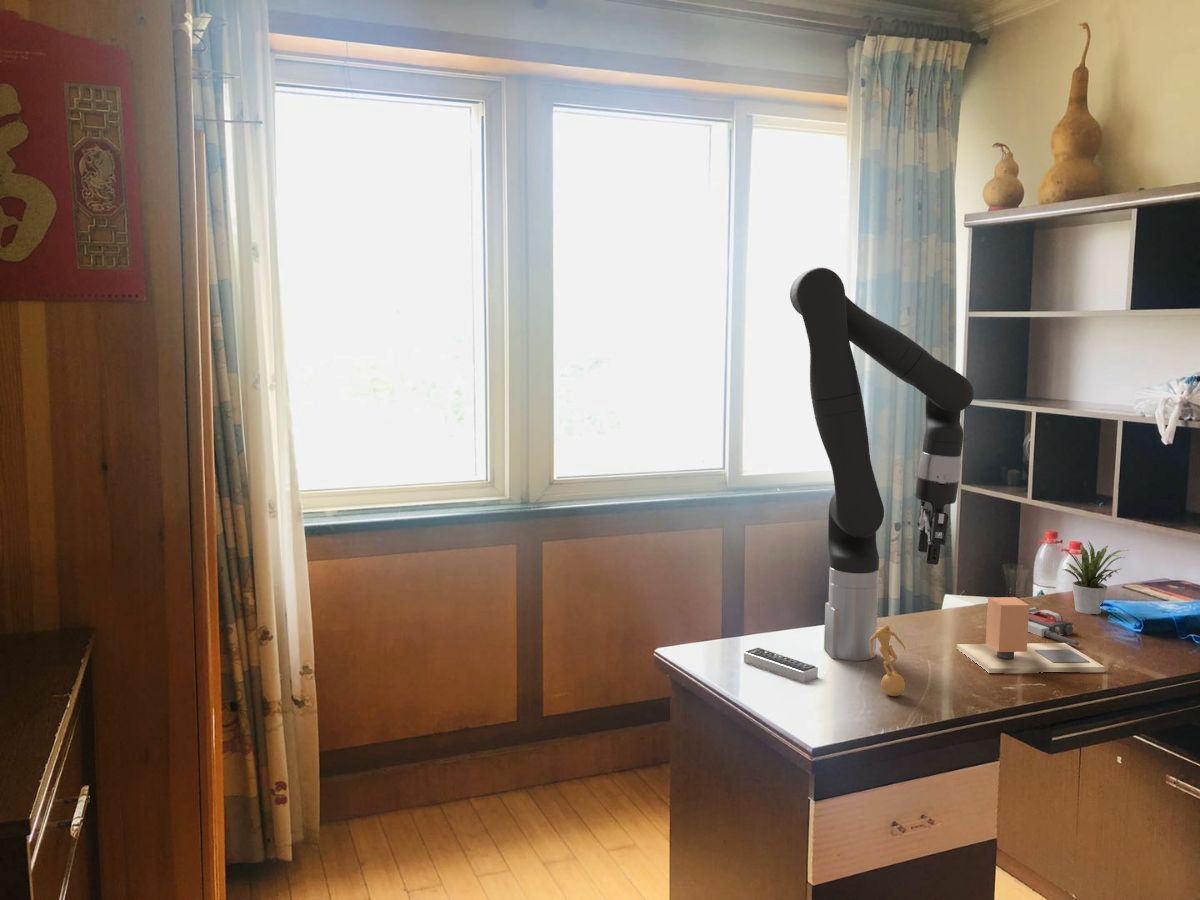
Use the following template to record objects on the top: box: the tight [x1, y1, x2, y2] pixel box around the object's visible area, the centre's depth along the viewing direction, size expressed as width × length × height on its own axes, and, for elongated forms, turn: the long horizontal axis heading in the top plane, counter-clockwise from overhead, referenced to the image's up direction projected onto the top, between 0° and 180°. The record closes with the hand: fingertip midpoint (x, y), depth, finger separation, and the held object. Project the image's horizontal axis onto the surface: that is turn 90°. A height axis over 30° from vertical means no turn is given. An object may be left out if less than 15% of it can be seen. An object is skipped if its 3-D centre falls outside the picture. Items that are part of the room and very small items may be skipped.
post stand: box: [956, 642, 1106, 674], centre depth 181 cm, size 22×14×11 cm, turn 93°
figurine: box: [869, 625, 906, 697], centre depth 164 cm, size 8×6×12 cm
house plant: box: [1058, 540, 1130, 615], centre depth 213 cm, size 14×14×16 cm
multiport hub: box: [743, 647, 819, 683], centre depth 177 cm, size 4×14×2 cm, turn 40°
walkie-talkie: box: [1028, 607, 1080, 646], centre depth 199 cm, size 9×4×20 cm
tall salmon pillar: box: [985, 596, 1030, 652], centre depth 180 cm, size 5×5×9 cm
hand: (927, 557), depth 185 cm, fingers open, 8 cm apart
